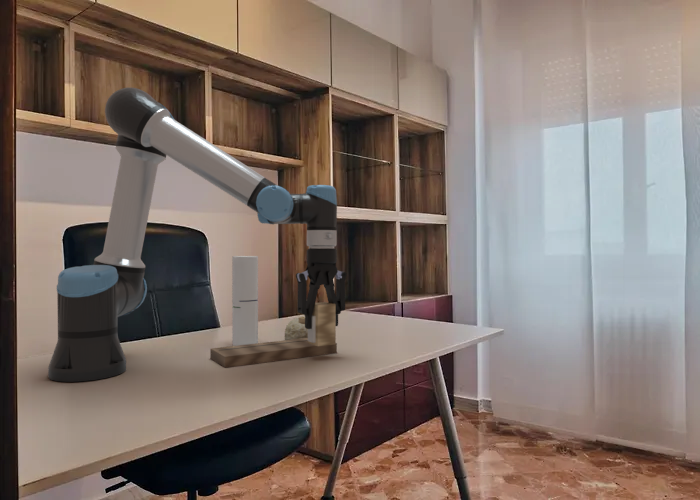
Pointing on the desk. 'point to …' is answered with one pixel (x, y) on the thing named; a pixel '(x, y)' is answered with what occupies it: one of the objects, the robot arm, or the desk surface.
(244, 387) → the desk surface
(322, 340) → the wooden lever on block
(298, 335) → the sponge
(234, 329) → the cylindrical container
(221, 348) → the board
